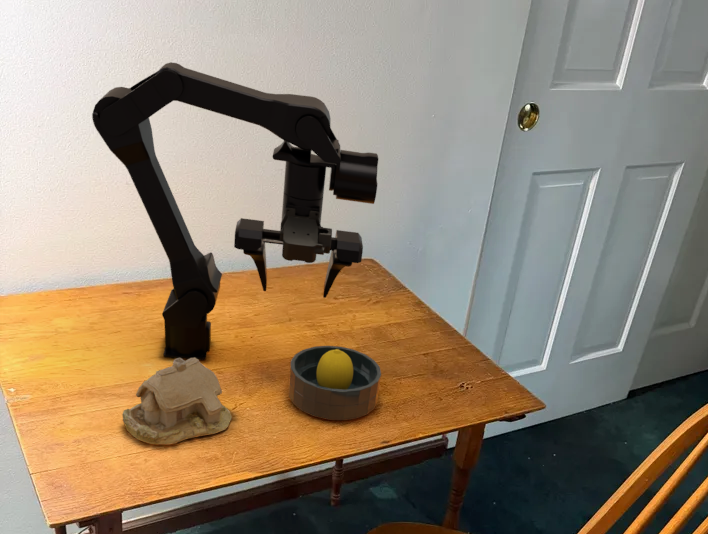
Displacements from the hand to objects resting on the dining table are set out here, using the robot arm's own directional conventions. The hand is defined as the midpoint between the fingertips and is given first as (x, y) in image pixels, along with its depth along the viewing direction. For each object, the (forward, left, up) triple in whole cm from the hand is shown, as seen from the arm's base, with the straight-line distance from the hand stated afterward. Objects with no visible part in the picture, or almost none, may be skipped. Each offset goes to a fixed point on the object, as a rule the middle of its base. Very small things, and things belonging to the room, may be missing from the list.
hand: (294, 293), depth 122 cm
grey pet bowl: (+6, -11, -12) cm, 17 cm away
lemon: (+6, -11, -12) cm, 17 cm away
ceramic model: (-16, -20, -12) cm, 28 cm away
